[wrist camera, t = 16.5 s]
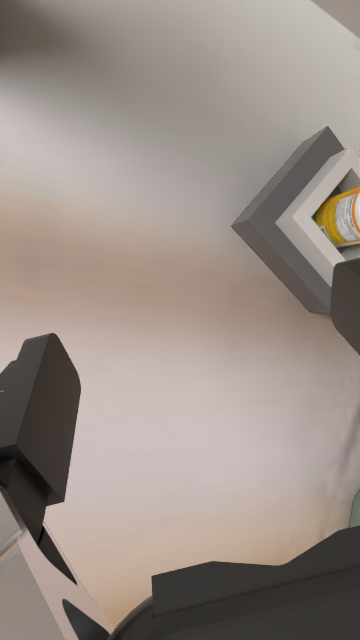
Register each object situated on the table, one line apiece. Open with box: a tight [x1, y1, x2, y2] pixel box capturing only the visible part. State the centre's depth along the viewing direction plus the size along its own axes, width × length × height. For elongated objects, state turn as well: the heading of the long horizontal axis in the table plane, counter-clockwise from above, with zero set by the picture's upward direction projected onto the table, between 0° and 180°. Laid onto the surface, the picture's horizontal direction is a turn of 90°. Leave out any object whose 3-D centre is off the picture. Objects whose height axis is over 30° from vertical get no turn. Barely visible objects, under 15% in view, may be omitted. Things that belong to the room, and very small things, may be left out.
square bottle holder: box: [231, 126, 360, 314], centre depth 37 cm, size 15×14×7 cm
